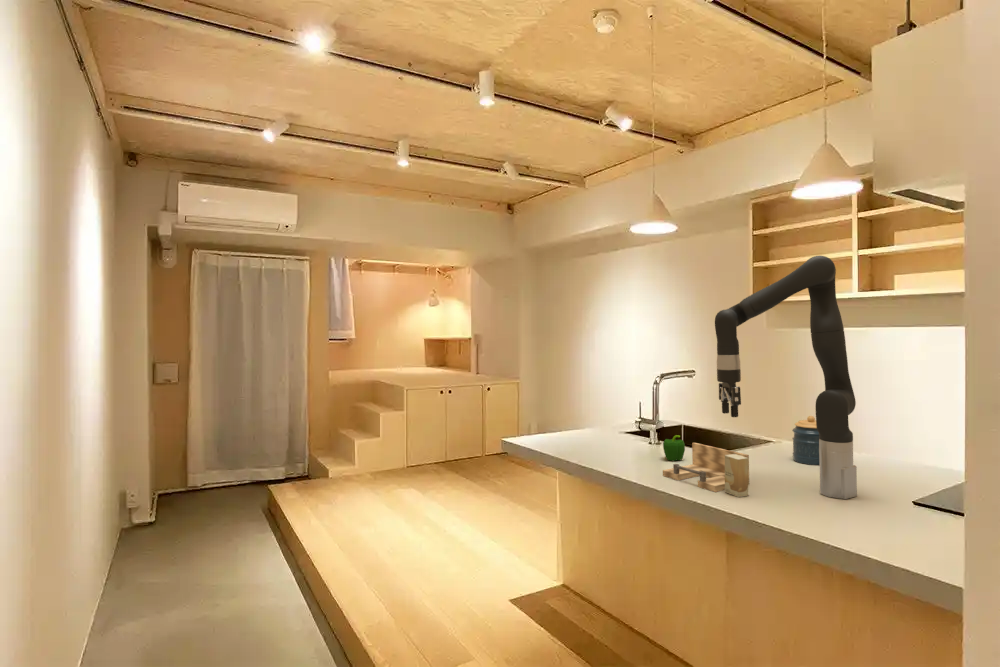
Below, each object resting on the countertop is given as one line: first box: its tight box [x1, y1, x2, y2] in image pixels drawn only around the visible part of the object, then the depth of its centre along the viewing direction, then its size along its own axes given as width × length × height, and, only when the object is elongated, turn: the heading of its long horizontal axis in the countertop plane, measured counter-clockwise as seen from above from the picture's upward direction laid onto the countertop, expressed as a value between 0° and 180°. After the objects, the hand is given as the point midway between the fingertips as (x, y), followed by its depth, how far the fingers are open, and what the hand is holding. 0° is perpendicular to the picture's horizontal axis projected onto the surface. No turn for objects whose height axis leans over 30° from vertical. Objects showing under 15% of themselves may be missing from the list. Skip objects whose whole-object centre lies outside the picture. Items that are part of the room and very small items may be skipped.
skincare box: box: [724, 454, 749, 498], centre depth 186 cm, size 6×4×12 cm
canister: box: [791, 415, 820, 466], centre depth 224 cm, size 13×13×18 cm
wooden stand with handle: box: [662, 442, 750, 493], centre depth 203 cm, size 24×16×10 cm, turn 28°
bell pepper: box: [662, 434, 686, 462], centre depth 232 cm, size 8×8×10 cm
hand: (730, 415), depth 199 cm, fingers open, 8 cm apart
